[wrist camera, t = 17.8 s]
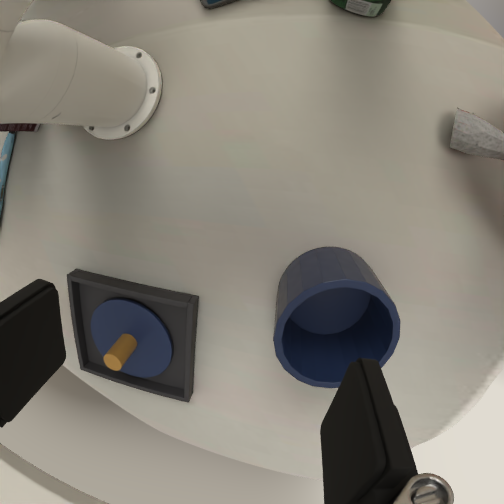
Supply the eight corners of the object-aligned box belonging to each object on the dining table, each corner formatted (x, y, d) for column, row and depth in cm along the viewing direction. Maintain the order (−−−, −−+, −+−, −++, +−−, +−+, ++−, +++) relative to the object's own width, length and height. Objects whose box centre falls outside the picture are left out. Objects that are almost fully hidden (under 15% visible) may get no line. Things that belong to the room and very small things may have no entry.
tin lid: (98, 360, 46) (79, 383, 40) (90, 287, 42) (65, 306, 36) (174, 382, 46) (160, 410, 39) (175, 307, 41) (157, 333, 35)
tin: (270, 329, 41) (264, 379, 32) (287, 238, 38) (287, 269, 28) (360, 342, 41) (376, 391, 31) (386, 255, 37) (416, 290, 27)
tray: (87, 361, 48) (80, 369, 45) (76, 268, 42) (66, 274, 40) (192, 392, 47) (188, 402, 44) (198, 295, 41) (193, 304, 39)
